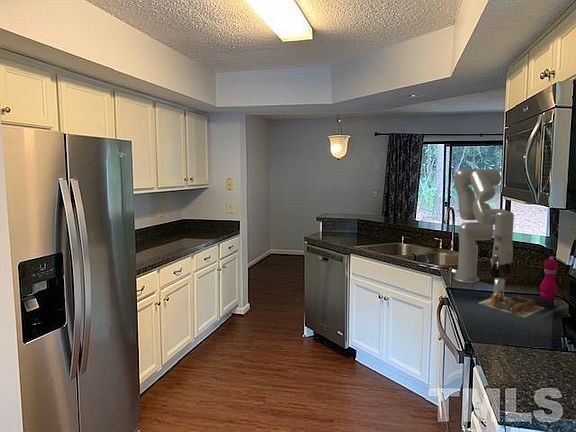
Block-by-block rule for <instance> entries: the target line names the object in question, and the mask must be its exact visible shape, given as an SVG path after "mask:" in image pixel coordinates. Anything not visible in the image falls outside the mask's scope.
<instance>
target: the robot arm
mask: <svg viewBox="0 0 576 432" xmlns="http://www.w3.org/2000/svg"><path fill="white" fill-rule="evenodd" d="M501 181H502V175H501V173H500V172H499V170H498V169H496V168H494V169H493V168H491V169H490V168H489V169H488V168H463V169H459V170H457V171H455V174H454V176H453V185H454V188H455V190H456V193H457V199H458V212H459V216H460V219H462V220H465V221H469V222H464V223H461V224H460V225H459V226H458V227H457V228H458V229H457V233H458V260H457V261H458V262H457V268H456V269H455V268H452V269H451V273H452V274H455V276H453V279H454V280H455V281H457V282H459V283H462V284H463V283H464V284H477V283H479V282H480V278H479V277H477V273H478V257H479V248H478V245H477V244H476V243H475V241H490V240H492V238H493V247H492V255H491V259H490V260H489V262H490V268H491V277H494V278H500V269H499V268H500V266H502V273H503V274H505V275H510V274H511V265H512V262H513V260H514V259H513V257H514V255H513V254H514V247H513V237H514V222H515V220H514V219H515V215H514V213H513V212H512V211H508V210H506V209H504V208H491V206H490V205H489V203H487V202H488V201H489V200H492V199H493V198H494V197H495V196H496V190H495V187H496V186H499V185H500V184H501ZM471 186H472V187H473V188H471ZM470 221H471V222H470ZM475 221H476V222H475Z"/></svg>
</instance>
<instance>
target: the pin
mask: <svg viewBox="0 0 576 432" xmlns="http://www.w3.org/2000/svg"><path fill="white" fill-rule="evenodd" d="M490 298H491V305H492V306H496V307H499V308H502V309H506V310H511V305H507V304H504V303H501V302H497V301H498V294H493V293H492V294H491V297H490Z"/></svg>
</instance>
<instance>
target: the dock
mask: <svg viewBox="0 0 576 432" xmlns="http://www.w3.org/2000/svg"><path fill="white" fill-rule="evenodd" d="M501 303H504V304H507V305H511V310H506V309H502V308H499V307H496V306H492V305H491V297H490V298H487V299H485V300H482V301H479V302H478V304H480V305H483V306H486V307H490V308H492V309H496V310H498V311H499V310H500V311H502V312H505V313H509V314H512V315H515V316H517V317H518V316H519V317H521V318H526V317H529V316H531V315H533V314H536V313H537V312H540V311H542V310H544V309H545V307H543V306H539V305H536V300H533V299H530V298H526V297H523V296H519V295H513V296H509V297H507V296H504V298H503V301H502V302H501Z"/></svg>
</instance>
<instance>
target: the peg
mask: <svg viewBox="0 0 576 432" xmlns="http://www.w3.org/2000/svg"><path fill="white" fill-rule="evenodd" d="M505 284H506V279H504V278H501V277H498V278H497V277H494V280H493V293H492V294H498V301H497V302H502V301H503V298H504V297H505V286H506V285H505Z"/></svg>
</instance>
